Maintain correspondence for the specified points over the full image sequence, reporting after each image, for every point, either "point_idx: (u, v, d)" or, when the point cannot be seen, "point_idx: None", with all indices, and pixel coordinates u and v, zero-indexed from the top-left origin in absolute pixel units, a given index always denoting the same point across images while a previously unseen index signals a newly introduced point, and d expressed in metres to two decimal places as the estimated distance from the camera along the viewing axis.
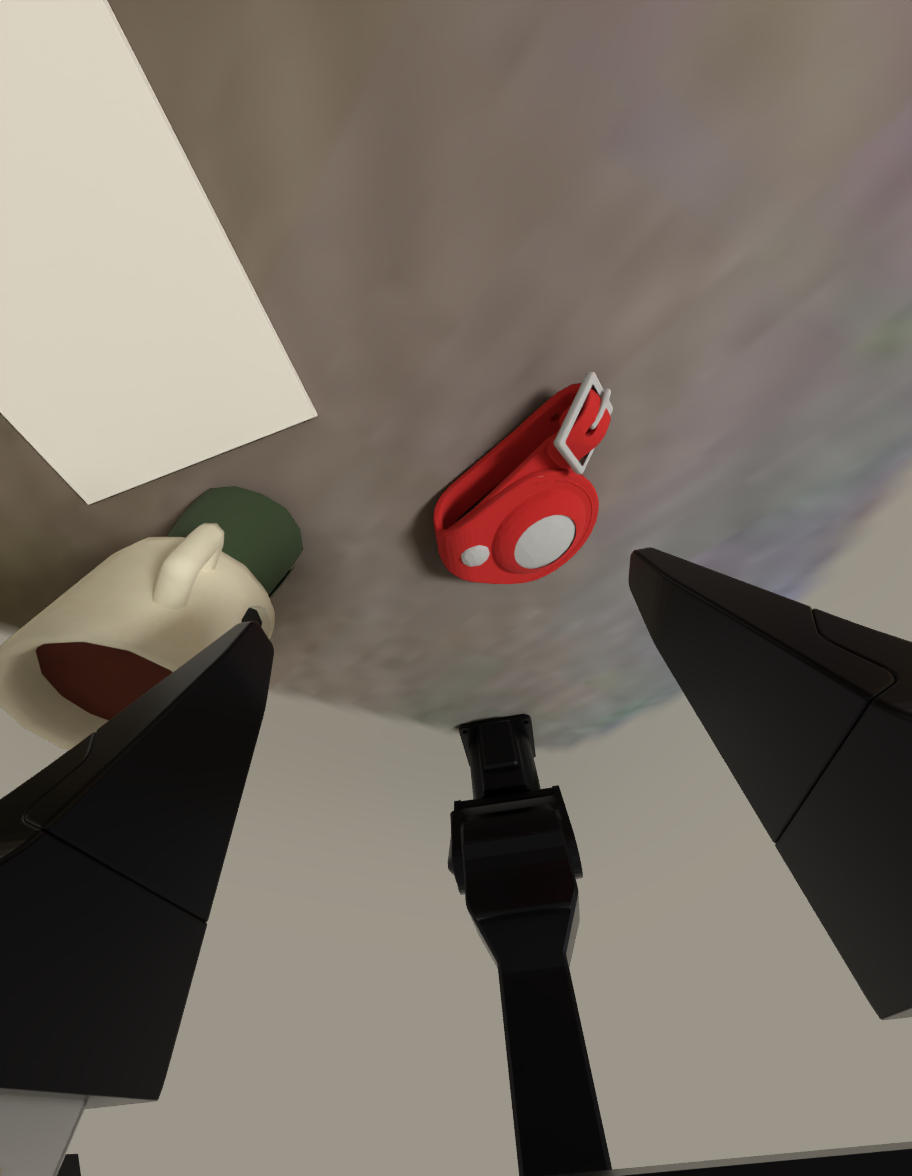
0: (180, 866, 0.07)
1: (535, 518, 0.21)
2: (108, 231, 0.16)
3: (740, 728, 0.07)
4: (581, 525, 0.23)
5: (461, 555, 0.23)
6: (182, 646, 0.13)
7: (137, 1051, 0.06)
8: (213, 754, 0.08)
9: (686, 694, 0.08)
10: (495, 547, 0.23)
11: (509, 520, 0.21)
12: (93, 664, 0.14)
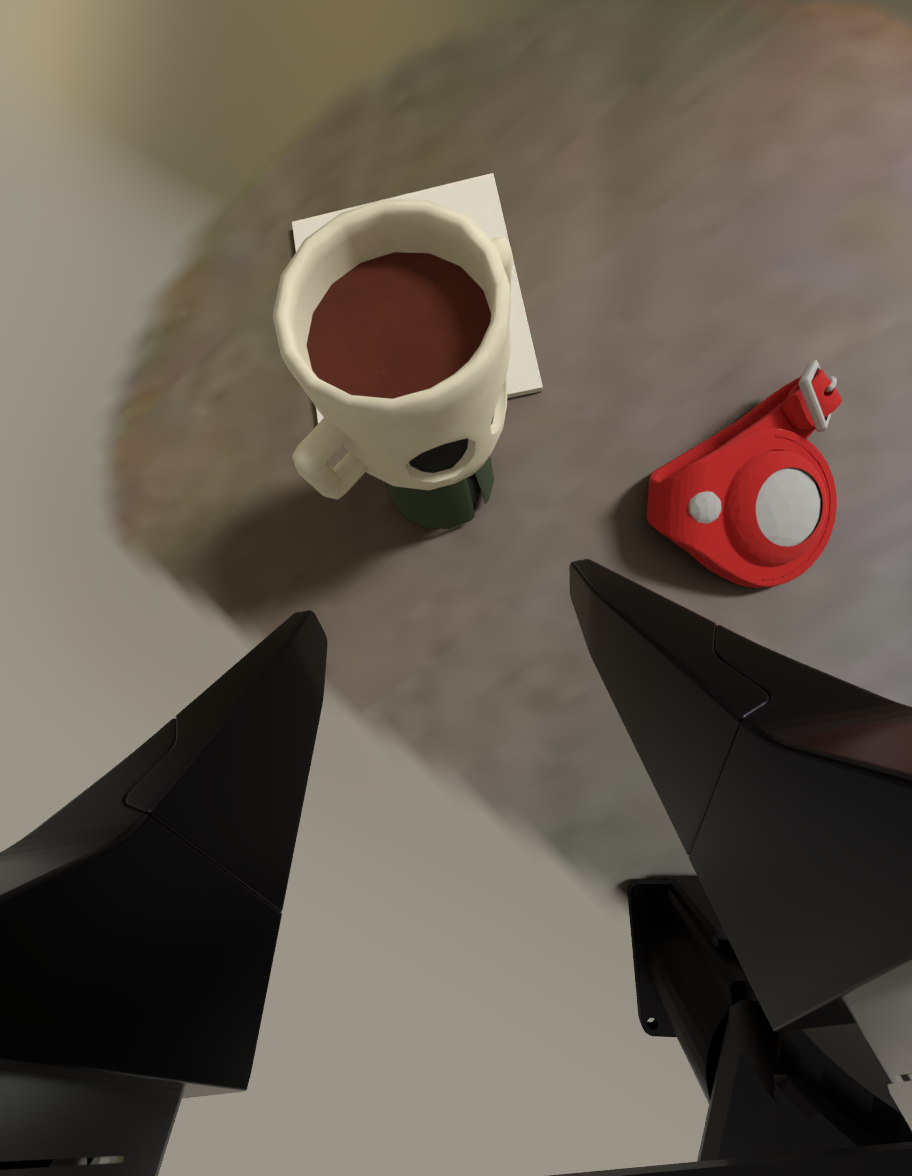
0: (259, 855, 0.07)
1: (779, 465, 0.20)
2: None
3: (655, 741, 0.07)
4: (826, 504, 0.20)
5: (689, 502, 0.20)
6: None
7: (228, 1040, 0.06)
8: (283, 743, 0.08)
9: (616, 706, 0.08)
10: (730, 499, 0.20)
11: (749, 465, 0.20)
12: (371, 306, 0.13)
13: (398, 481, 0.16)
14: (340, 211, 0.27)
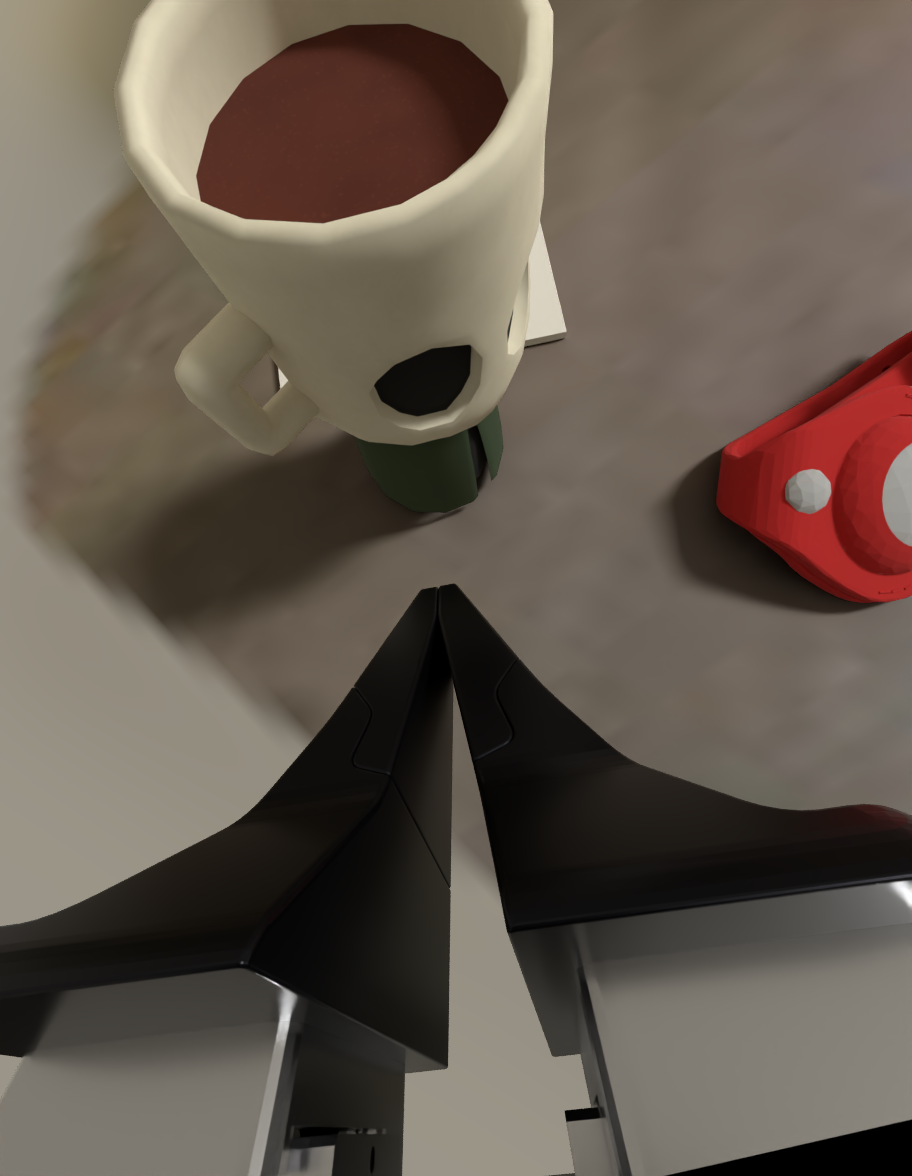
0: (437, 828, 0.06)
1: None
2: None
3: None
4: None
5: (787, 484, 0.15)
6: None
7: (436, 1015, 0.06)
8: (440, 717, 0.07)
9: None
10: (844, 481, 0.14)
11: (871, 434, 0.14)
12: (307, 111, 0.08)
13: (363, 427, 0.10)
14: None
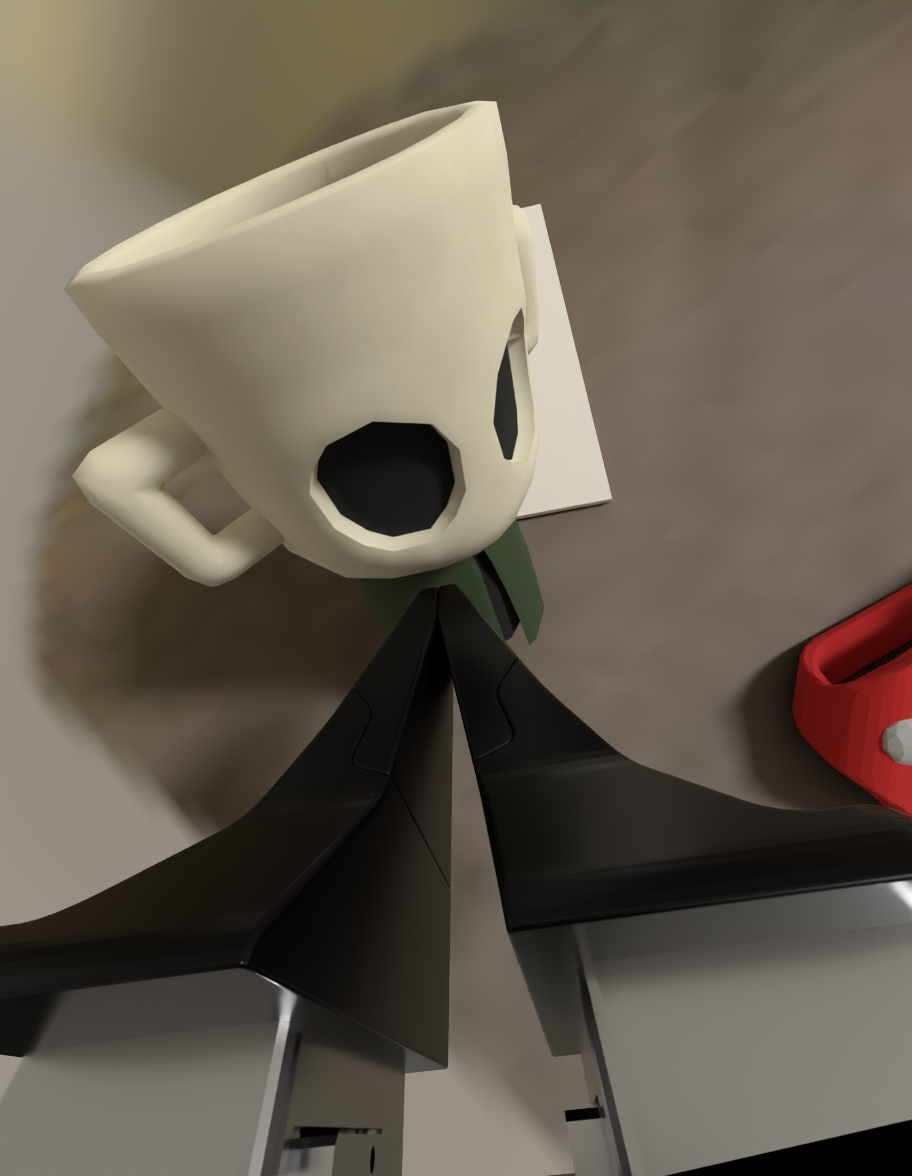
0: (437, 828, 0.06)
1: None
2: None
3: None
4: None
5: (885, 733, 0.13)
6: None
7: (436, 1015, 0.06)
8: (440, 717, 0.07)
9: None
10: None
11: None
12: None
13: (322, 549, 0.08)
14: None
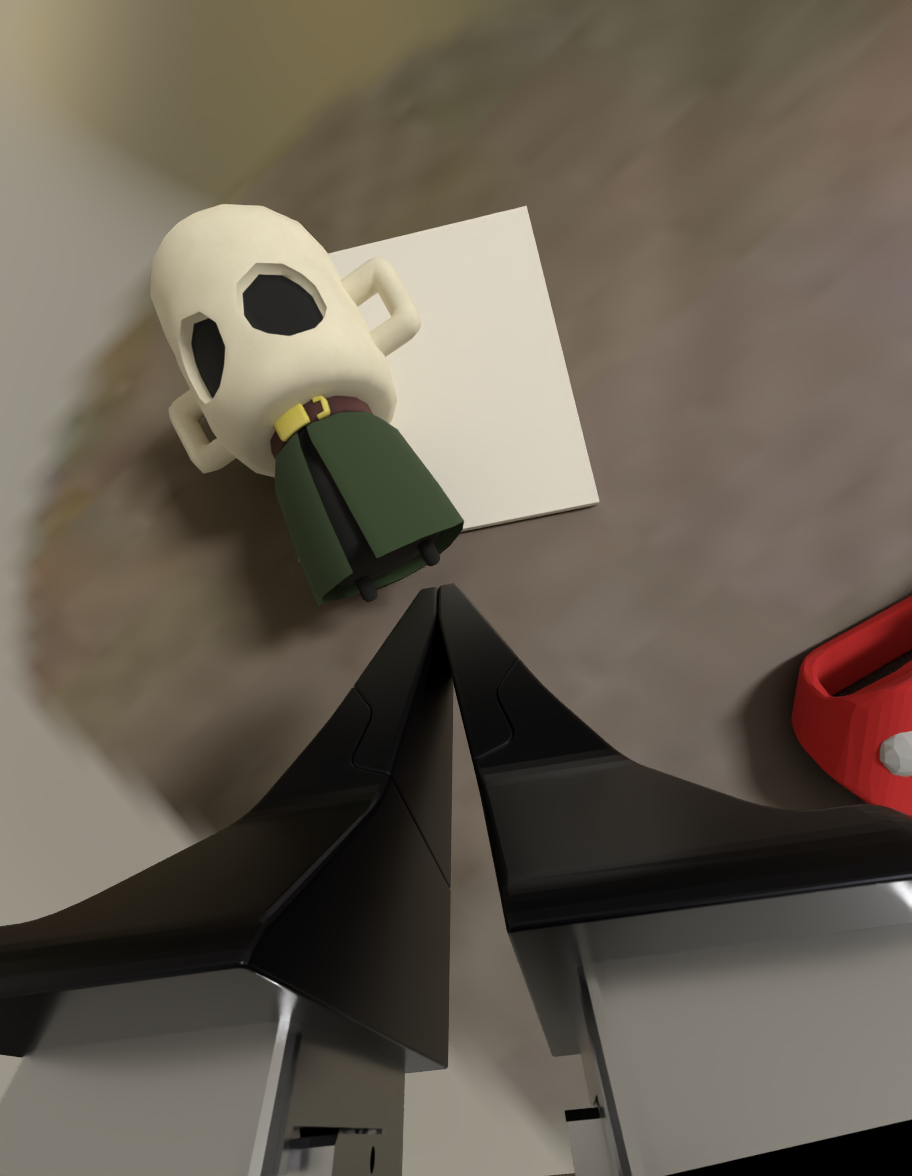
0: (437, 828, 0.06)
1: None
2: (472, 349, 0.20)
3: None
4: None
5: (883, 745, 0.14)
6: (310, 237, 0.14)
7: (436, 1016, 0.06)
8: (440, 717, 0.07)
9: None
10: None
11: None
12: None
13: None
14: None
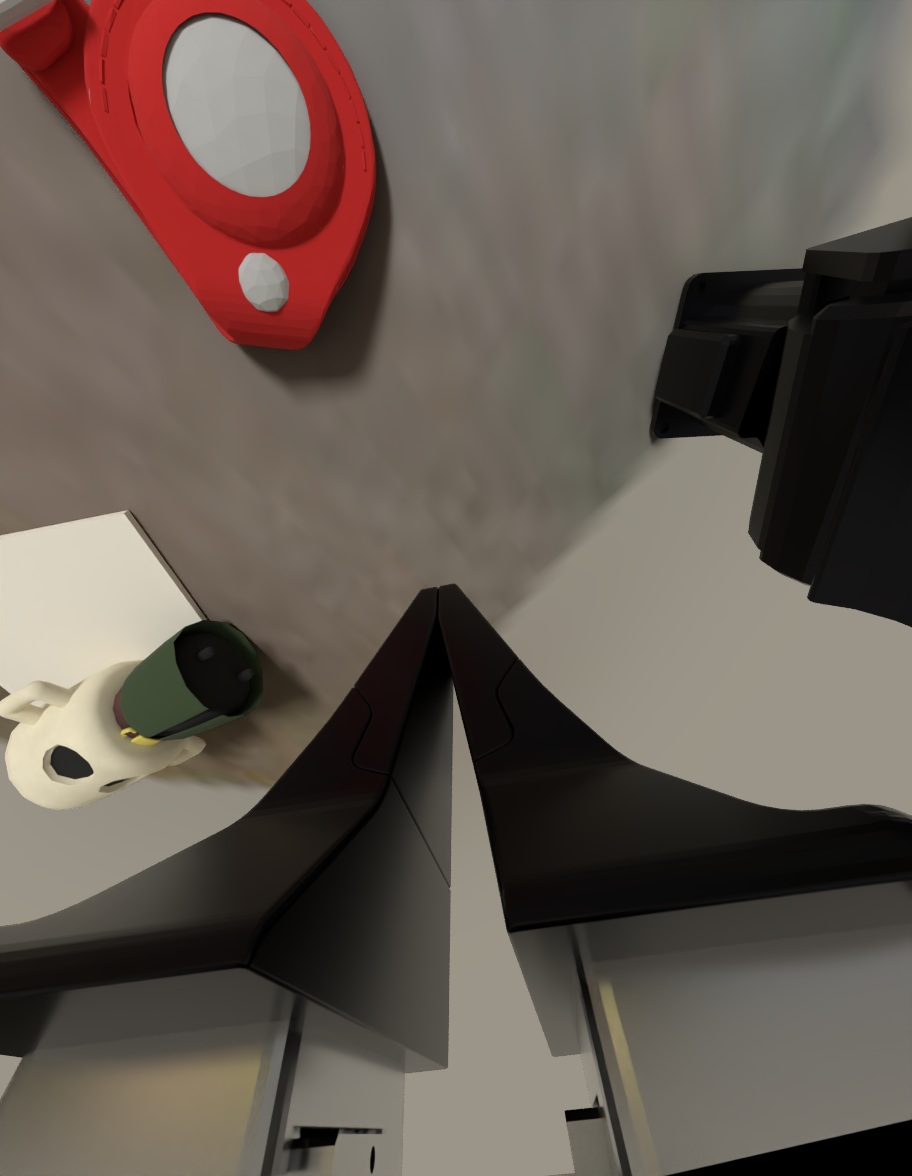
0: (437, 828, 0.06)
1: (167, 125, 0.12)
2: (32, 603, 0.24)
3: None
4: None
5: (260, 310, 0.14)
6: (11, 748, 0.23)
7: (436, 1015, 0.06)
8: (440, 717, 0.07)
9: None
10: (245, 237, 0.13)
11: (180, 192, 0.12)
12: None
13: None
14: (10, 692, 0.28)
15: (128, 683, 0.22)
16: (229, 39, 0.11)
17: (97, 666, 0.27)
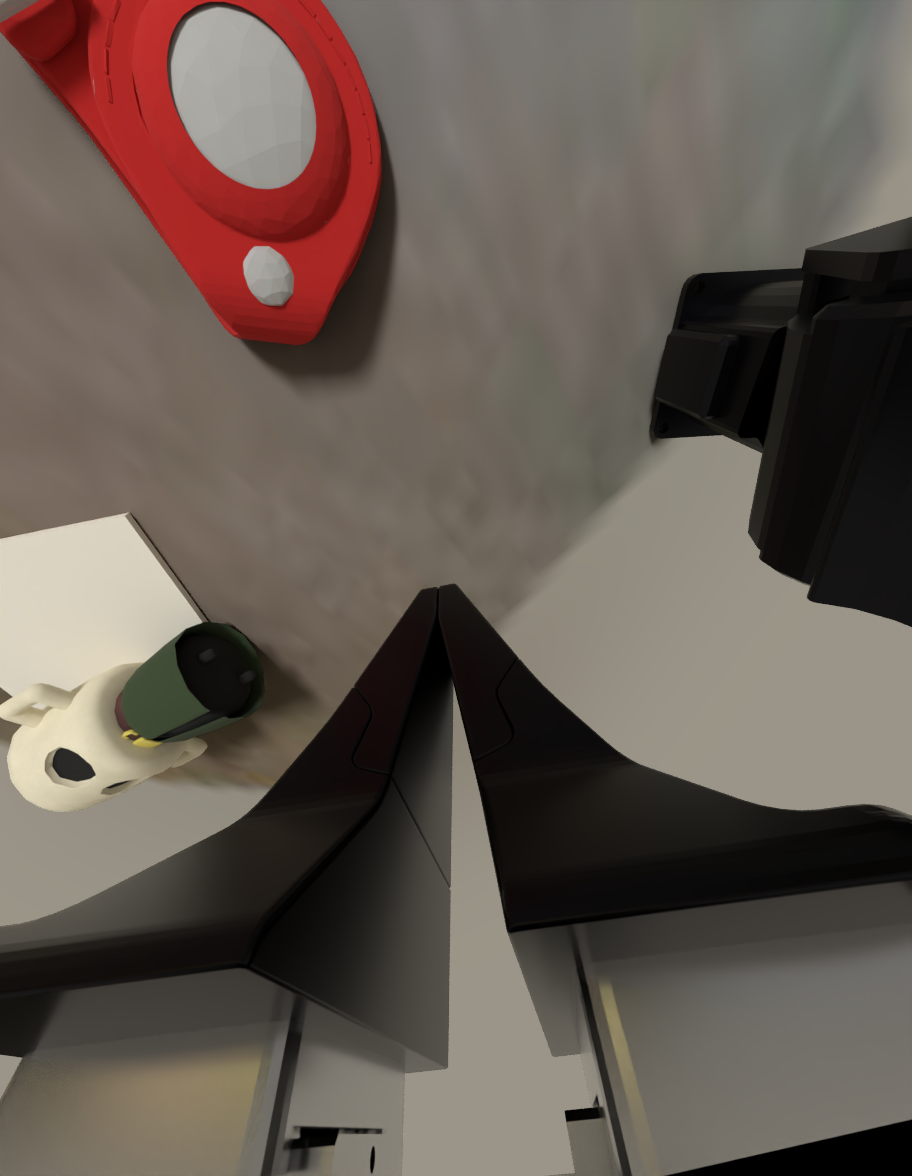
0: (437, 828, 0.06)
1: (172, 116, 0.11)
2: (33, 606, 0.24)
3: None
4: None
5: (265, 304, 0.14)
6: (13, 750, 0.23)
7: (436, 1016, 0.06)
8: (440, 717, 0.07)
9: None
10: (250, 230, 0.13)
11: (185, 183, 0.12)
12: None
13: None
14: (12, 694, 0.28)
15: (129, 685, 0.23)
16: (235, 29, 0.11)
17: (98, 668, 0.27)
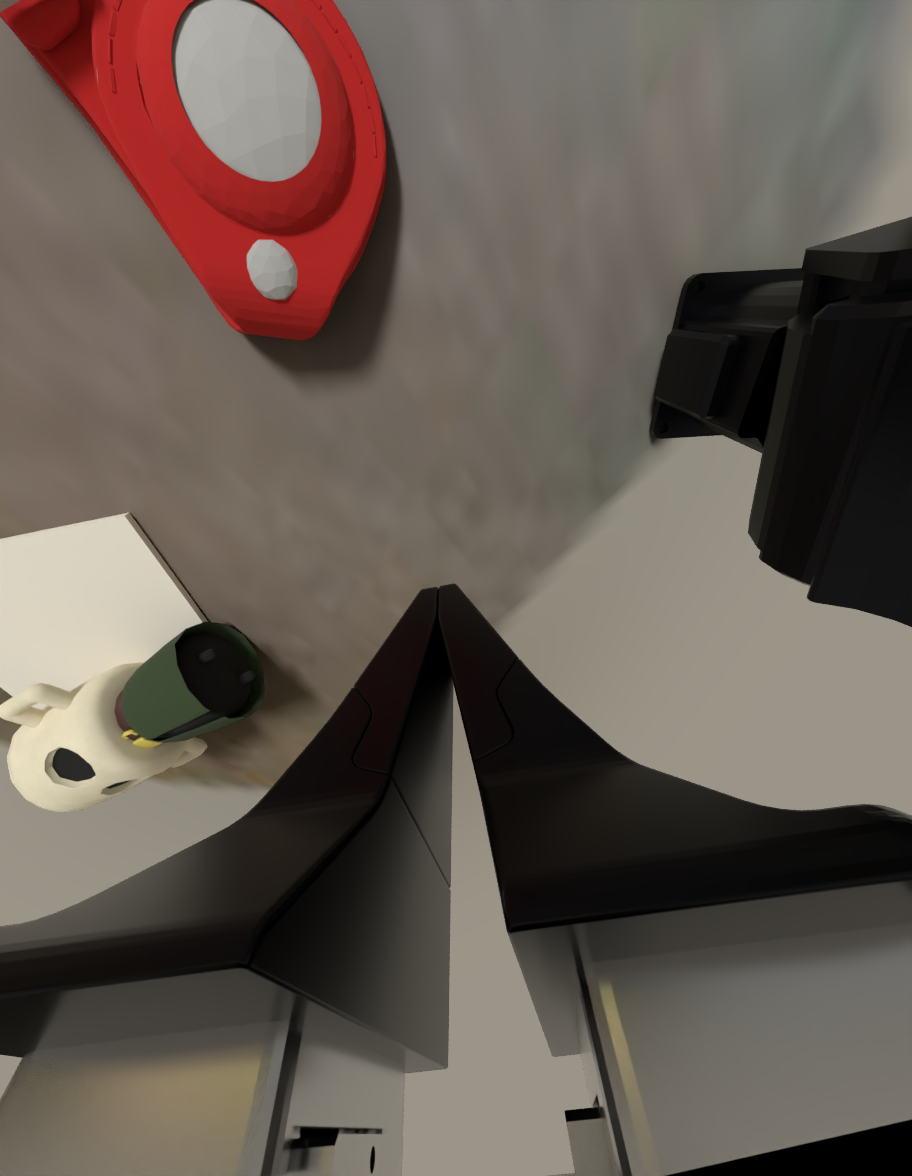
0: (437, 828, 0.06)
1: (176, 107, 0.11)
2: (33, 606, 0.24)
3: None
4: None
5: (268, 298, 0.14)
6: (13, 750, 0.23)
7: (436, 1016, 0.06)
8: (440, 717, 0.07)
9: None
10: (254, 223, 0.13)
11: (189, 175, 0.12)
12: None
13: None
14: (12, 694, 0.28)
15: (129, 685, 0.23)
16: (240, 19, 0.11)
17: (98, 668, 0.27)
